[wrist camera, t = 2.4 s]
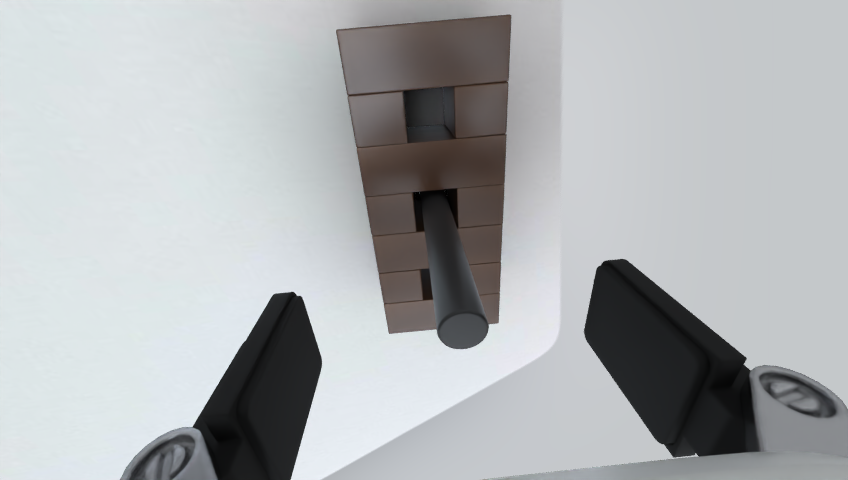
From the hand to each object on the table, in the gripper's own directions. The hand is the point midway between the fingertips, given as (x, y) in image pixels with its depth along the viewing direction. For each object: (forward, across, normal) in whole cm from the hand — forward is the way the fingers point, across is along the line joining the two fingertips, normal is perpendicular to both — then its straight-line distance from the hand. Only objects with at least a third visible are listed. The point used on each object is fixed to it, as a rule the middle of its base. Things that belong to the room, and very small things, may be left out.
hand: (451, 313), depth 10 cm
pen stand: (+13, 0, 0) cm, 13 cm away
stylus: (+13, 0, 0) cm, 13 cm away
